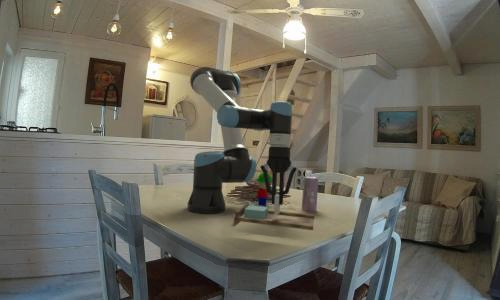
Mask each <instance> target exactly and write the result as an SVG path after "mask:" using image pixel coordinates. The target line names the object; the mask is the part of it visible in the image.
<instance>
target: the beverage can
mask: <svg viewBox="0 0 500 300" xmlns="http://www.w3.org/2000/svg"><path fill="white" fill-rule="evenodd" d="M318 190H319V178H318V177H317V176H303V180H302V198H301V201H302V202H301V210H302V211H304V212H310V213H311V212H317V208H318V206H317V205H318Z"/></svg>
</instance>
